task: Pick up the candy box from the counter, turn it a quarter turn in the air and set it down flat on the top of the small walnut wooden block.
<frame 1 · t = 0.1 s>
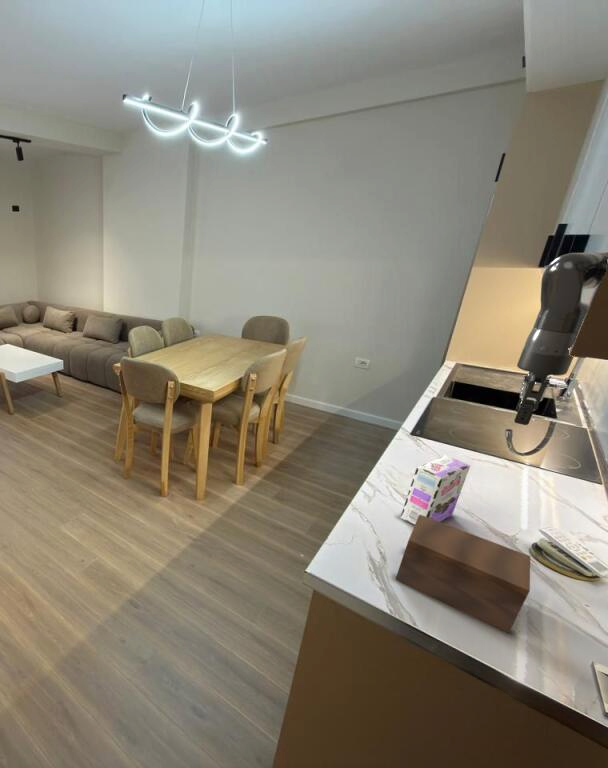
hand: (521, 417, 90), 33 cm above the counter, tool pointing down, fingers open, 8 cm apart
walnut wooden block: (451, 588, 85), on the counter
candy box: (425, 518, 107), on the counter
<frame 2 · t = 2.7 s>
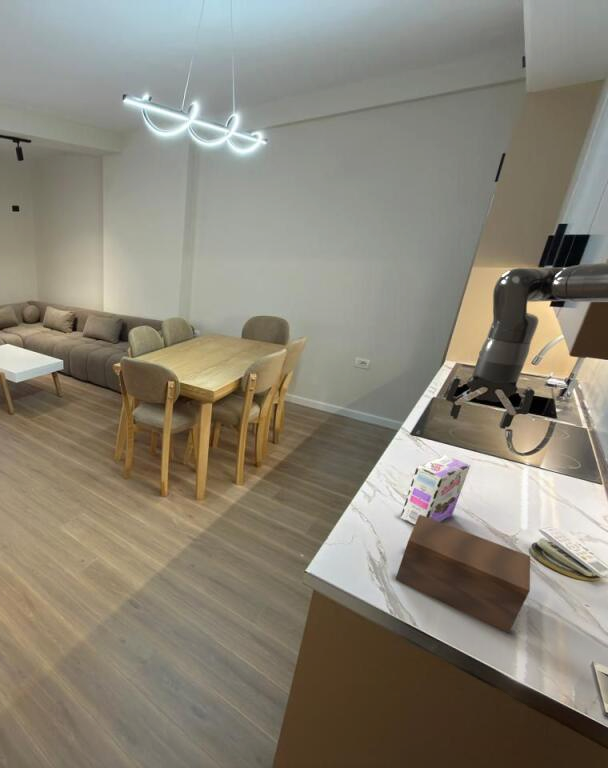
hand: (477, 422, 95), 30 cm above the counter, tool pointing down, fingers open, 8 cm apart
nothing on the counter moved.
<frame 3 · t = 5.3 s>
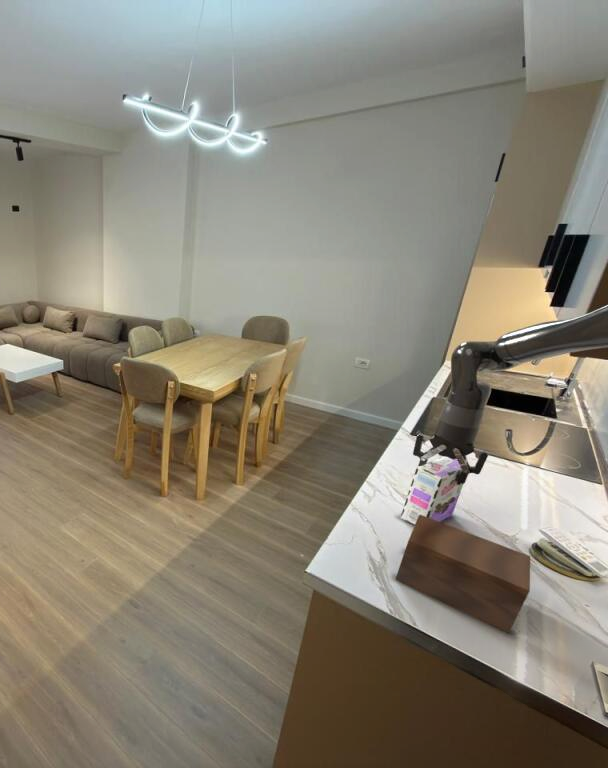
hand: (439, 477, 102), 13 cm above the counter, tool pointing down, fingers closed on candy box, 7 cm apart
candy box: (425, 518, 107), on the counter, touching gripper
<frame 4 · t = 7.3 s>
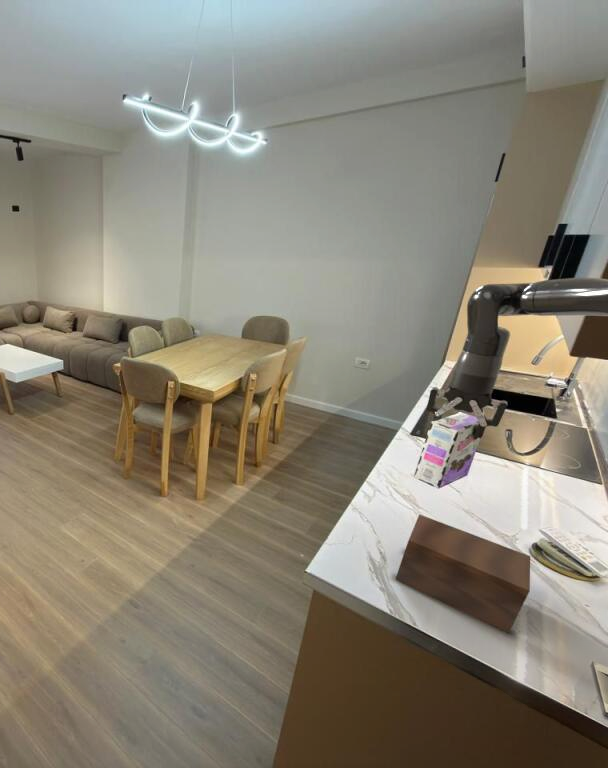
hand: (455, 433, 98), 26 cm above the counter, tool pointing down, fingers closed on candy box, 7 cm apart
candy box: (440, 477, 103), point 13 cm above the counter, touching gripper
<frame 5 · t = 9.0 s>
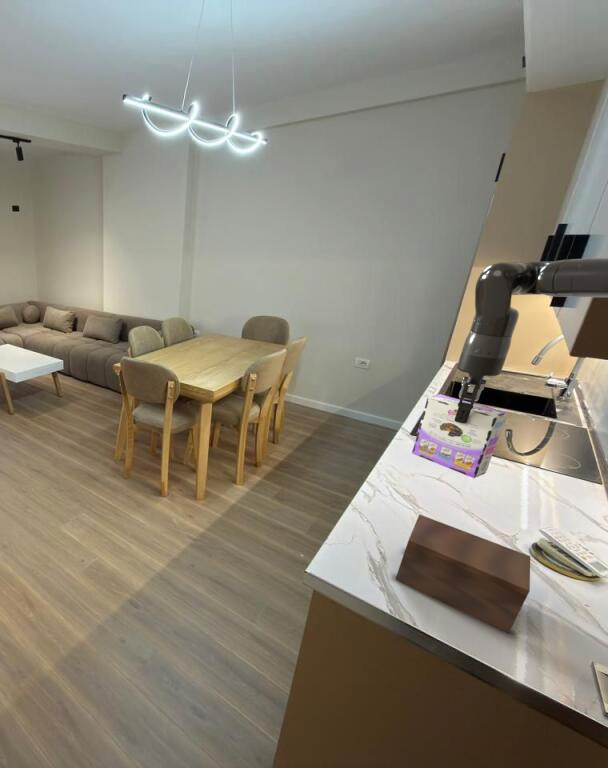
hand: (462, 417, 96), 30 cm above the counter, tool pointing down, fingers closed on candy box, 7 cm apart
candy box: (446, 463, 100), point 17 cm above the counter, touching gripper
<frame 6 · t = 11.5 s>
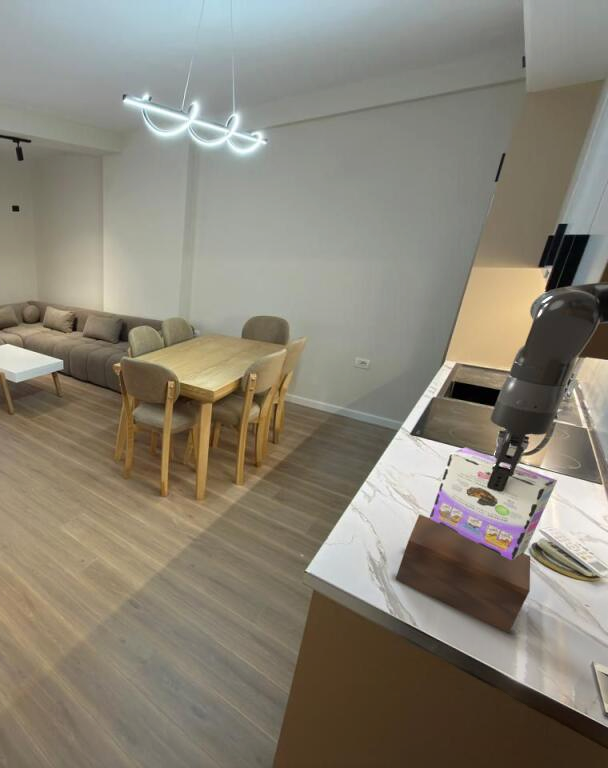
hand: (495, 481, 76), 28 cm above the counter, tool pointing down, fingers closed on candy box, 7 cm apart
candy box: (473, 535, 80), point 15 cm above the counter, touching gripper
when the fingers open (24 cm above the counter, at t = 13.1 s): candy box stays where it is, resting on walnut wooden block.
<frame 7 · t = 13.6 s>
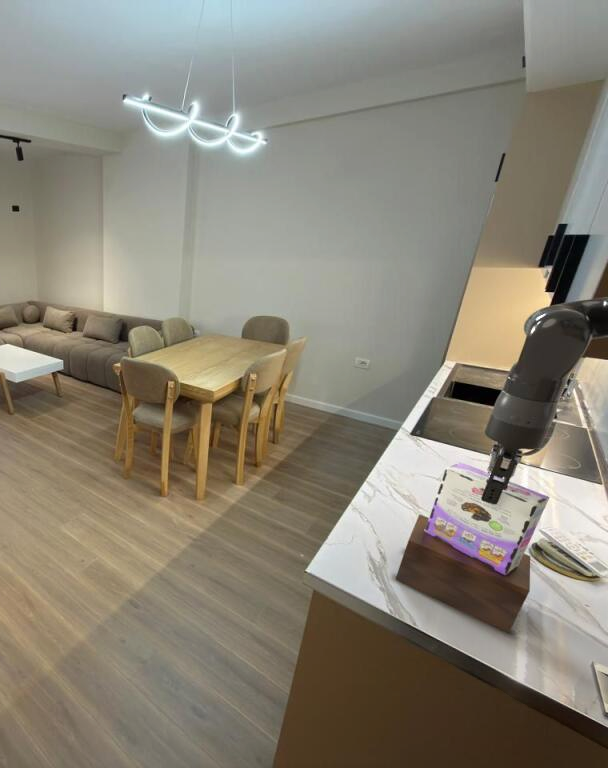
hand: (490, 492, 77), 25 cm above the counter, tool pointing down, fingers open, 8 cm apart
candy box: (468, 548, 82), point 11 cm above the counter, touching walnut wooden block
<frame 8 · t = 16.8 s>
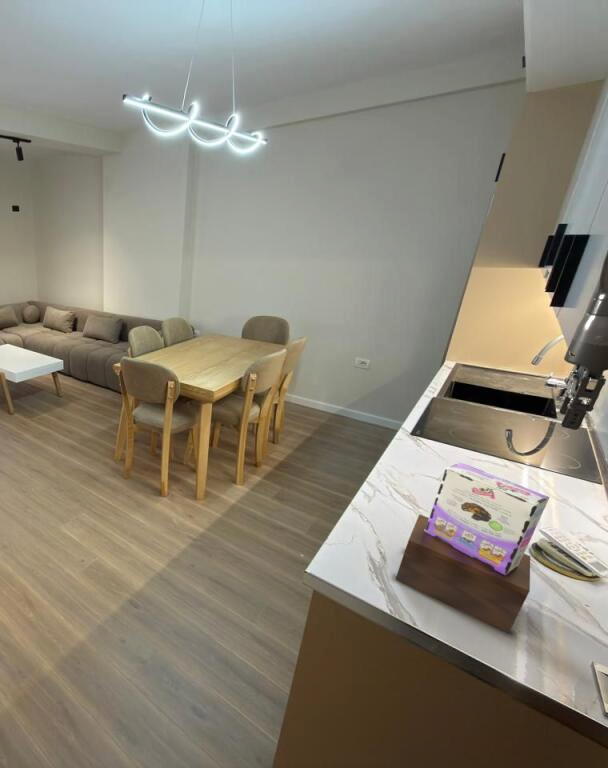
hand: (567, 421, 76), 38 cm above the counter, tool pointing down, fingers open, 8 cm apart
nothing on the counter moved.
at the end: candy box inside the target area on the walnut wooden block (0.1 cm from its centre), point 11.0 cm above the walnut wooden block's base; candy box tilted 0°; the gripper is holding nothing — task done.
